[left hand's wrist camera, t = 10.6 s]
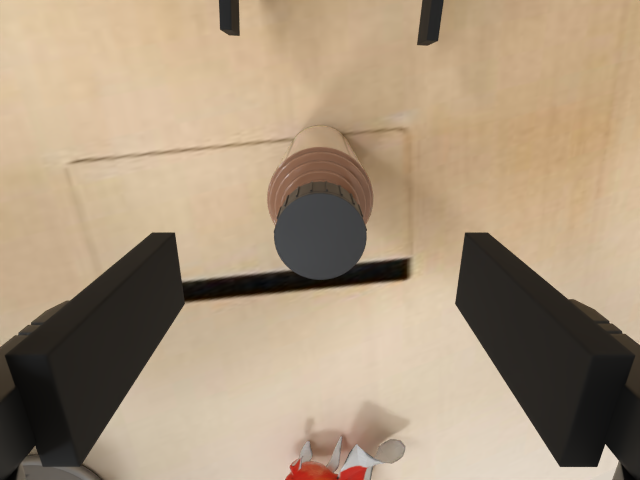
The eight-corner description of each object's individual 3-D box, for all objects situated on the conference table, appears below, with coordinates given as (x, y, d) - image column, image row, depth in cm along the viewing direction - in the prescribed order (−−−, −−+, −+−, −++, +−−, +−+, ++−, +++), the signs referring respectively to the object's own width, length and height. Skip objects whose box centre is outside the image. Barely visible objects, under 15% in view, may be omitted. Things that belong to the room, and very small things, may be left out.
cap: (321, 161, 18) (321, 171, 15) (379, 222, 19) (387, 239, 16) (261, 220, 19) (253, 237, 16) (319, 274, 20) (319, 297, 17)
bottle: (320, 110, 35) (321, 133, 15) (365, 159, 36) (418, 236, 17) (274, 158, 36) (221, 233, 17) (319, 202, 38) (319, 320, 18)
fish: (263, 434, 42) (298, 539, 35) (385, 386, 48) (434, 468, 41) (261, 473, 49) (290, 568, 42) (368, 427, 55) (408, 503, 48)
